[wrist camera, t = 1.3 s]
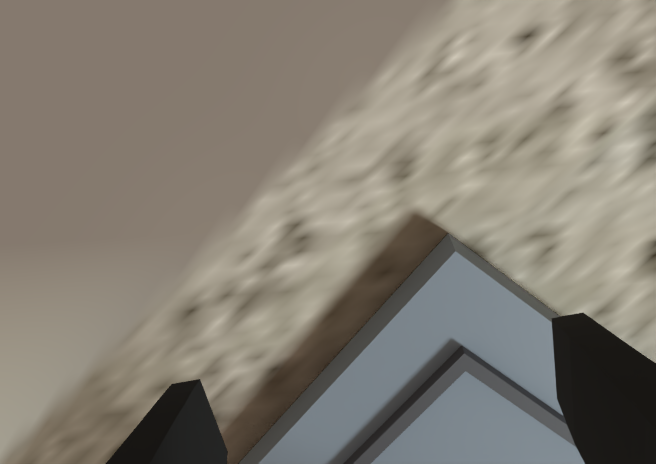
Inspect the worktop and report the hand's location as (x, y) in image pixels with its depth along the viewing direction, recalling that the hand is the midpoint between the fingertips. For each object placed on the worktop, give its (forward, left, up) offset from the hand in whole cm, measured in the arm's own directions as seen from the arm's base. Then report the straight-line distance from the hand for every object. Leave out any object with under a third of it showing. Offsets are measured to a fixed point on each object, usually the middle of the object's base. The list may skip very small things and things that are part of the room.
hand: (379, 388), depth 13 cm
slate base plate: (-9, +6, -9) cm, 14 cm away
